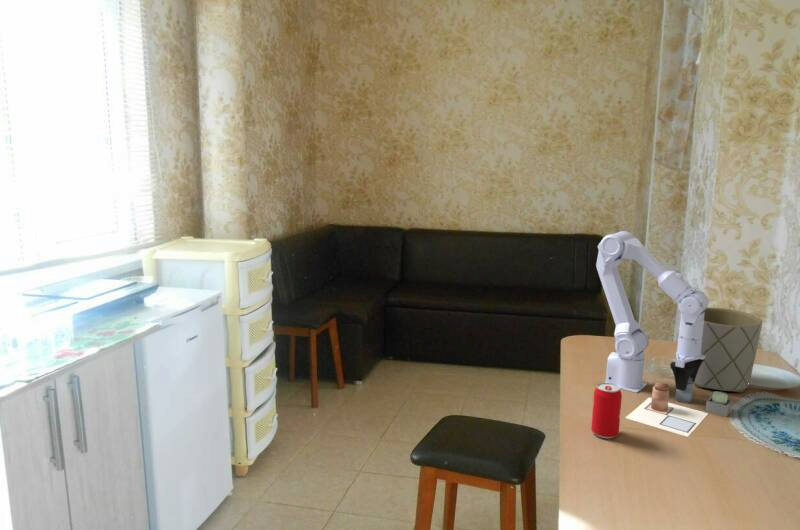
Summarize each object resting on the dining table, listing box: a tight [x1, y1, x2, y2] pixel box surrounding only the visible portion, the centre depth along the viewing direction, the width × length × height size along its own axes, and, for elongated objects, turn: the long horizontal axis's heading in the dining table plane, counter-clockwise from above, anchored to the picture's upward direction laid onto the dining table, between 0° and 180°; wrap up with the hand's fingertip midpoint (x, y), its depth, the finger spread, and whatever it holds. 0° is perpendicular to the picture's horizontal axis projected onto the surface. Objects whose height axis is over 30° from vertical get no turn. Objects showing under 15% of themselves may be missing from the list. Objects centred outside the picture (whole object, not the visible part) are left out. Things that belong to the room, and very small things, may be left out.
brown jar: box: [651, 382, 670, 412], centre depth 162 cm, size 4×4×6 cm
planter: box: [693, 307, 763, 393], centre depth 179 cm, size 19×19×20 cm
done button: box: [712, 390, 729, 405], centre depth 161 cm, size 3×3×3 cm
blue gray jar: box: [674, 377, 694, 404], centre depth 167 cm, size 4×4×6 cm
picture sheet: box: [625, 397, 709, 438], centre depth 158 cm, size 15×17×1 cm
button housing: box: [704, 394, 734, 418], centre depth 161 cm, size 5×5×3 cm
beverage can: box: [590, 382, 623, 439], centre depth 147 cm, size 6×6×12 cm
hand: (685, 385), depth 167 cm, fingers open, 7 cm apart
